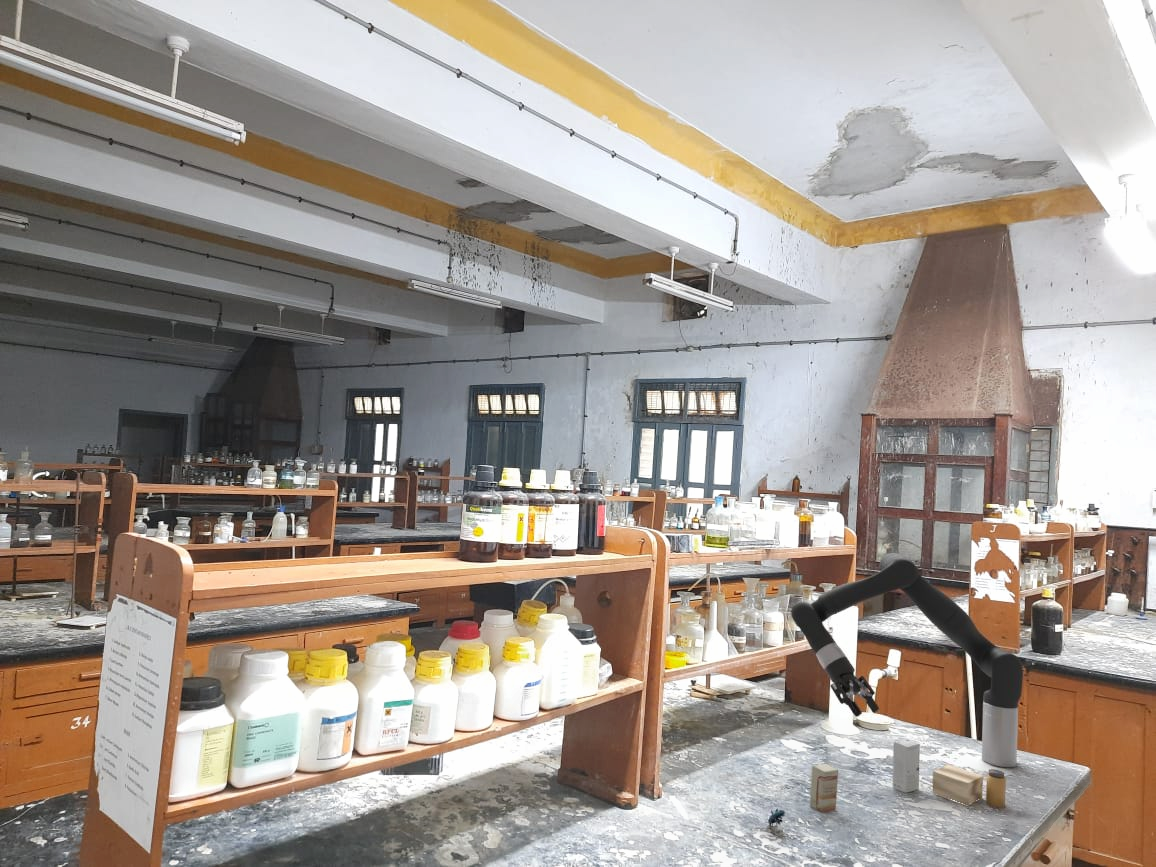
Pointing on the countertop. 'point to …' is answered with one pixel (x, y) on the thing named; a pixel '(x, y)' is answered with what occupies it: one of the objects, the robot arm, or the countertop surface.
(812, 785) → the skincare box
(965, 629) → the robot arm
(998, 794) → the amber jar
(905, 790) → the skincare box
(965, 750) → the countertop surface
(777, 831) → the sculpture
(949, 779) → the beech block
